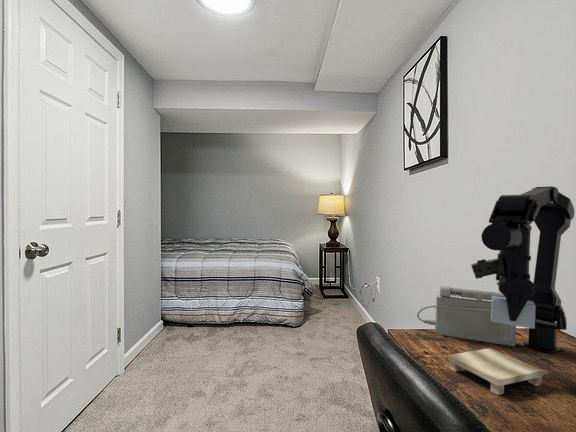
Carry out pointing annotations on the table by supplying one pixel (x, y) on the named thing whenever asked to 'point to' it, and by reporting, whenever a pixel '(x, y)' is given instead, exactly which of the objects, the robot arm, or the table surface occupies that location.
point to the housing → (502, 316)
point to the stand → (495, 368)
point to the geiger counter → (469, 316)
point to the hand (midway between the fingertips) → (511, 318)
